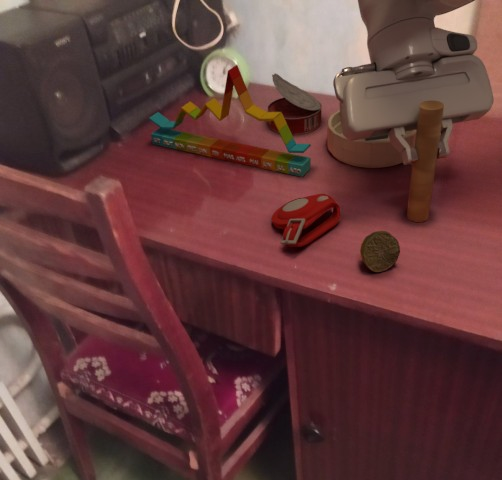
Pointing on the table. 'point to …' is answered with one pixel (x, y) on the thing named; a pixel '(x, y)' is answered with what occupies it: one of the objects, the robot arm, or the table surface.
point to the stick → (425, 159)
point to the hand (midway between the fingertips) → (426, 160)
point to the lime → (379, 251)
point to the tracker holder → (305, 218)
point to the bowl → (363, 147)
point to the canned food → (295, 108)
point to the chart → (231, 149)
